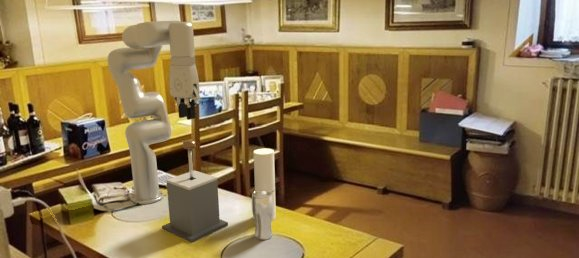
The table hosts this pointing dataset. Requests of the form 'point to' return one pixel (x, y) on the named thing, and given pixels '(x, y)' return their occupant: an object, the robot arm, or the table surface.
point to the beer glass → (262, 213)
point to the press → (193, 206)
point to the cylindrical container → (265, 173)
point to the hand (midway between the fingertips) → (187, 117)
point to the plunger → (190, 154)
